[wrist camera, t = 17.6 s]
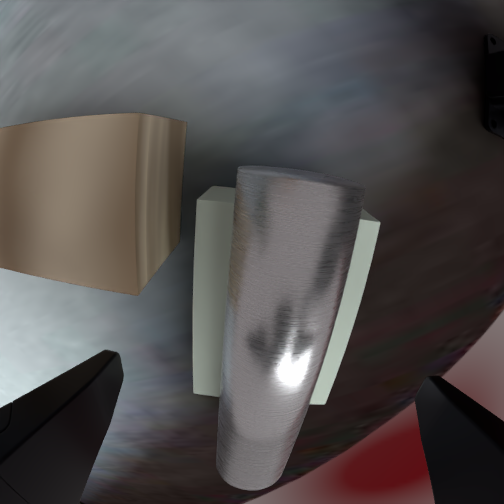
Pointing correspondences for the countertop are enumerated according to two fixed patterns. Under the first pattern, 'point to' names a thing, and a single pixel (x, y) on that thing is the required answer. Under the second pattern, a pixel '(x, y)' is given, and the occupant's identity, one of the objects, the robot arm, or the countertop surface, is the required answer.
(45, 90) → the countertop surface
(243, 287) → the axle
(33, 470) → the robot arm
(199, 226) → the v block
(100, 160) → the wooden bridge block
